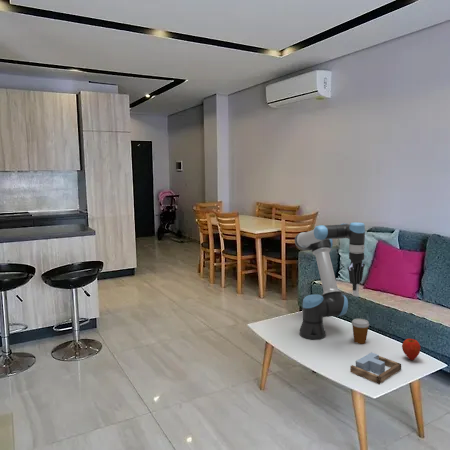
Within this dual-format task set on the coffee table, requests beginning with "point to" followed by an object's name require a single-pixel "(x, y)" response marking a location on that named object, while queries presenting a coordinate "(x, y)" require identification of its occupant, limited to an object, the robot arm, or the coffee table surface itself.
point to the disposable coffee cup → (360, 330)
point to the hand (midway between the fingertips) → (355, 295)
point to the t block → (371, 363)
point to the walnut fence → (382, 377)
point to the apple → (411, 348)
